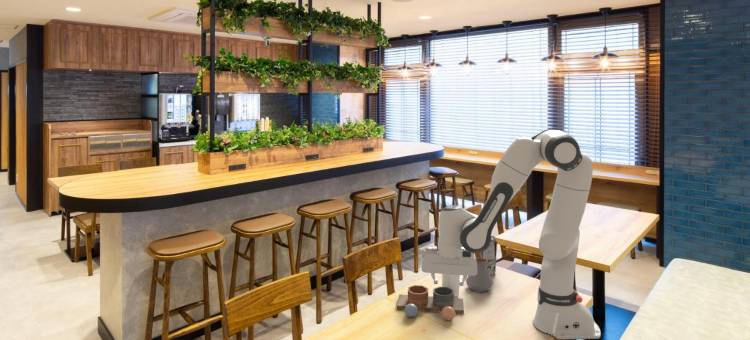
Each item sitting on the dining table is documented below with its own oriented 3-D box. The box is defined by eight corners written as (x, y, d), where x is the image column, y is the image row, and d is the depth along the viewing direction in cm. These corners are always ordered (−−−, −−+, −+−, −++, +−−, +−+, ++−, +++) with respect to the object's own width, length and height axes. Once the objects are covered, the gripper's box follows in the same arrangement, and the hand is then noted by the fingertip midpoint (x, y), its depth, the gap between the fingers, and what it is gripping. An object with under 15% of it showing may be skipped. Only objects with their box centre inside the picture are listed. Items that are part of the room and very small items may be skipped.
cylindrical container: (458, 290, 193) (460, 234, 189) (459, 297, 186) (461, 240, 182) (441, 289, 194) (442, 234, 190) (442, 297, 187) (443, 239, 183)
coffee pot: (472, 295, 189) (473, 261, 186) (461, 283, 200) (462, 251, 197) (518, 290, 193) (520, 257, 190) (506, 280, 204) (507, 248, 201)
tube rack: (463, 302, 182) (463, 287, 181) (463, 314, 173) (464, 298, 172) (399, 297, 186) (399, 283, 185) (396, 309, 177) (396, 293, 176)
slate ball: (417, 313, 173) (418, 301, 172) (417, 320, 168) (417, 307, 167) (405, 312, 174) (405, 300, 173) (403, 319, 169) (403, 306, 168)
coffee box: (495, 275, 209) (497, 241, 207) (481, 274, 210) (483, 241, 207) (492, 267, 218) (494, 235, 215) (479, 267, 219) (480, 235, 216)
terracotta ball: (454, 316, 171) (455, 304, 170) (455, 323, 166) (455, 310, 165) (441, 315, 172) (441, 303, 171) (441, 322, 167) (441, 309, 166)
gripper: (420, 250, 162) (419, 285, 165) (478, 253, 159) (476, 290, 162) (421, 244, 169) (420, 278, 171) (477, 247, 165) (475, 282, 168)
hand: (448, 284), depth 166 cm, fingers open, 8 cm apart
